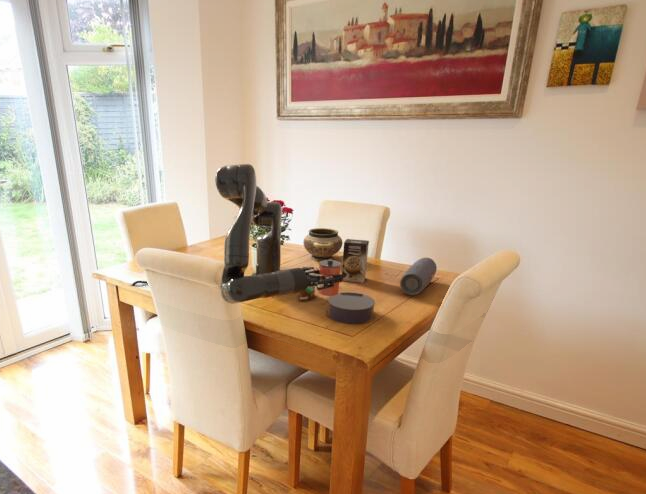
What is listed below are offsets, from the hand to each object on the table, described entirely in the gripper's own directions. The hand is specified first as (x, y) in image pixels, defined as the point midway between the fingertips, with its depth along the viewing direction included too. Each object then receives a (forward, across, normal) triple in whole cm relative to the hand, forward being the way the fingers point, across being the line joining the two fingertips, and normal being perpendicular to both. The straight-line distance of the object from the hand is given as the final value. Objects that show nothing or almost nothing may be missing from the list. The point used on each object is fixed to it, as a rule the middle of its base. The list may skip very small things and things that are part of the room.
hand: (335, 274), depth 141 cm
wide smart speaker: (+11, +6, +18) cm, 21 cm away
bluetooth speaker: (+48, +15, +18) cm, 54 cm away
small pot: (-2, 0, +6) cm, 6 cm away
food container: (+7, +26, +18) cm, 32 cm away
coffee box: (+33, +35, +18) cm, 51 cm away
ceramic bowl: (+38, +66, +18) cm, 79 cm away
